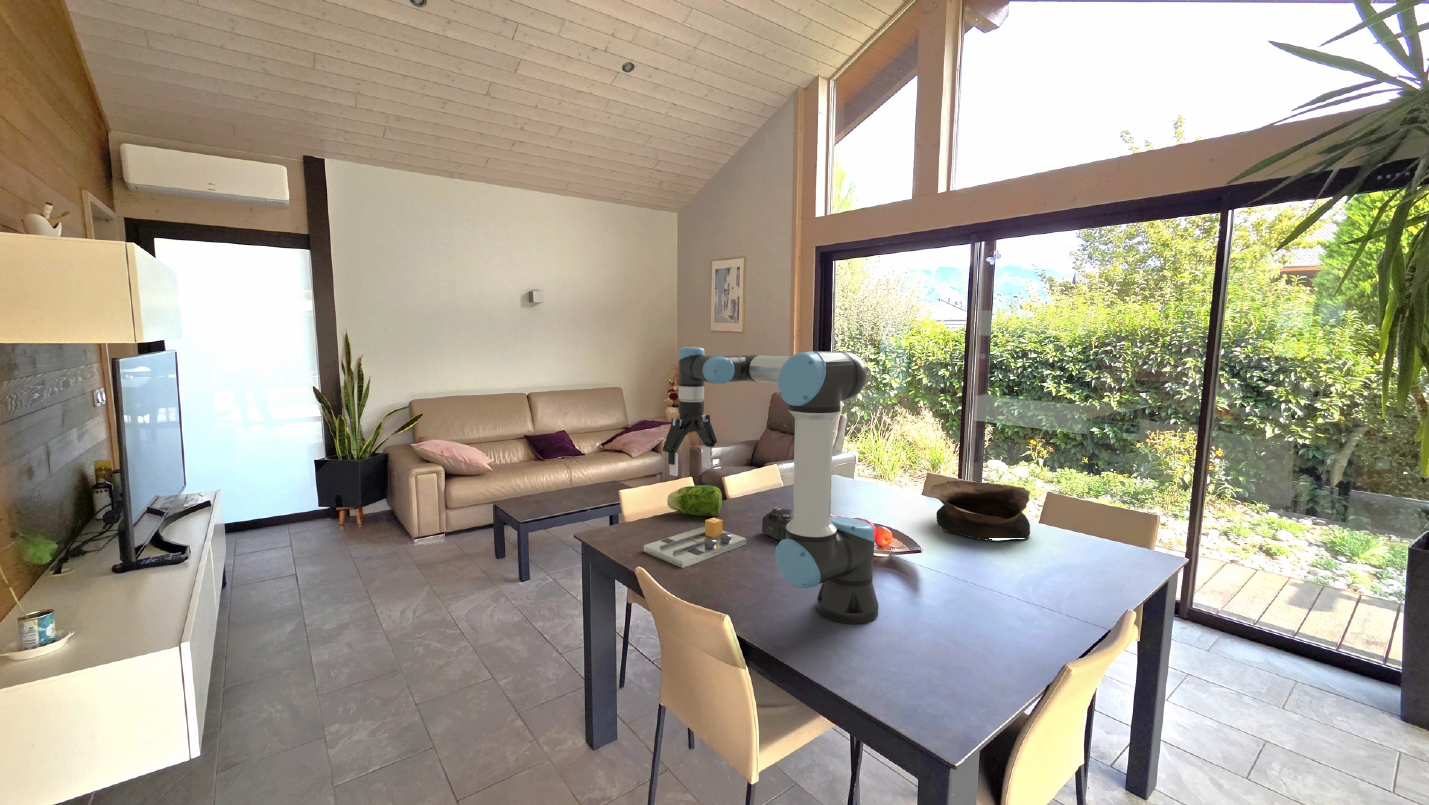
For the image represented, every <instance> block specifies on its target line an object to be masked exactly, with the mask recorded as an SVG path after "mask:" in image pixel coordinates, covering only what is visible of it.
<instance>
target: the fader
mask: <svg viewBox="0 0 1429 805" xmlns="http://www.w3.org/2000/svg"><path fill="white" fill-rule="evenodd" d="M723 521H724V520H723V519H719V518H717V517H712V518H709V519H705V521H704V522H705V523H704V524H705V525H704V526H705V535H707V536H709V537H712V538H714V537H717V536H720V535H721V533H723V531H724V530H723V529H724V528H723V527H724V525H723Z"/></svg>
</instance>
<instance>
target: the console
mask: <svg viewBox="0 0 1429 805" xmlns="http://www.w3.org/2000/svg"><path fill="white" fill-rule="evenodd" d="M747 540H748V539H747V538H745V537H743V536H740V535H737V534H735V533H732V532H728V531H726V530H723V533H721V535H720V536H717V537H714V538H712V537H709V536H707V535H705V525H704V526H701V527H698V528H695V529H692V530H687V531H685V532H682V533H678V534H675V535H672V536H669V537H666V538H663V539H659V540H657V541H653V542H649V543H646V544H643V552H644V553H646V554H648V555H651V556H653V557H655V558H657V559H661V560H663V561H665V562H667V563H670V564H672V565H674V566H676V567H679V568H682V569H684V568H686V567H689V566H692V565H695V564H697V563H700V562H703V561H706V560H708V559H710V558H714V557H716V556H719V555H722V554H724V553H727V552H730V551H733V550H735V549H738V548H741V547H744V546H746V545H747Z"/></svg>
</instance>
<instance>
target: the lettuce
mask: <svg viewBox="0 0 1429 805" xmlns="http://www.w3.org/2000/svg"><path fill="white" fill-rule="evenodd" d="M666 503H667V506H668V507H669V508H670V509H671V510H674V511H677V512H678V513H681V514H684V515H689V516H691V515H692V516H697V517H712V518H715V517H716V516H718V515H719V514H720V513H721V510H722V506H723V495H722V491H721V489H720V488H719V487H717V486H715V485H710V484H707V485H704V484H703V485H687V486H684V487H680V488H679V489H676V490H674V491H672V492H670V493H669V494H668V495H667V500H666Z"/></svg>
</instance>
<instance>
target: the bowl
mask: <svg viewBox="0 0 1429 805" xmlns="http://www.w3.org/2000/svg"><path fill="white" fill-rule="evenodd" d="M928 492H929V495H932V498H935V499H938V500H939V501H940V502H941V504H942V506H940V507H939V508H938V510H937V511H936V522H937V525H938V527H939V528H941V529H942V530H943V531H945V532H948V533H950V532H951V533H950V534H955V533H956V535H959V534H961V535H960V536H964V535H965V537H968V536H970V537H969V538H972V537H973V538H972V539H976V538H980V539H979V540H983V539H988V540H987V541H989V540H992V539H989V538H1026V537H1027V536H1031V524H1030V521H1029V519H1028V518H1027V516H1026V514H1024V513H1023V511H1024V510H1026V508H1027V507H1028V506H1027V504H1028V503H1029V501H1030V498H1029V497H1030V493H1031V491H1030V490H1027V489H1026V488H1025V487H1022V486H1014V485H1009V484H1001V483H992V482H991V483H990V482H981V481H968V480H967V481H966V480H951V481H950V480H947V481H945V482H942V483H937V484H933V485H932V486H931V489H930V490H929V491H928ZM1027 538H1028V537H1027ZM1027 538H1026V539H1027Z"/></svg>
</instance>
